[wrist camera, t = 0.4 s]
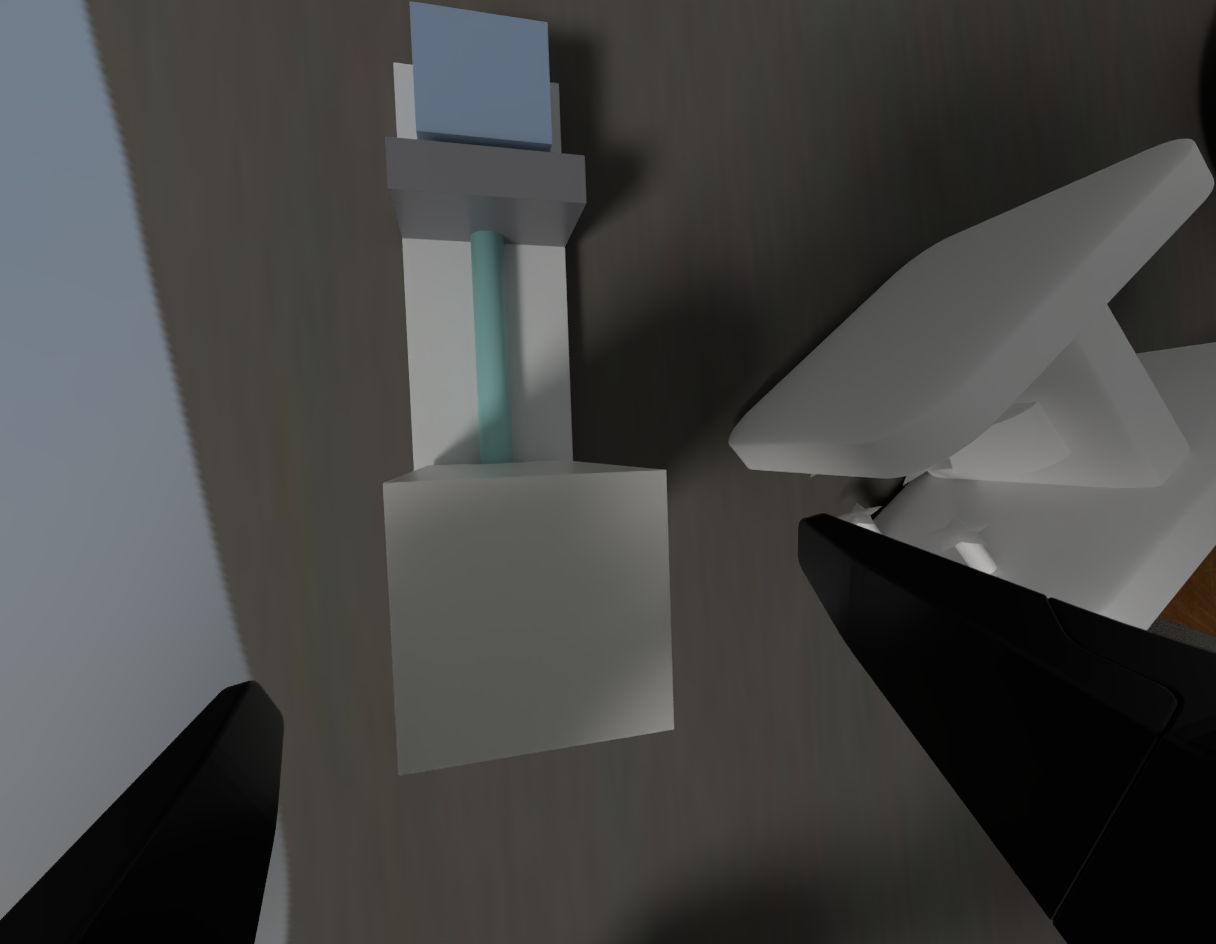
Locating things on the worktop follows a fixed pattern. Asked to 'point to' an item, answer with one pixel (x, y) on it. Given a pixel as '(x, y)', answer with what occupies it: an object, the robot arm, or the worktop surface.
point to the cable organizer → (1023, 399)
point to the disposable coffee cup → (1196, 599)
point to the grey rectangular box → (526, 608)
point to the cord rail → (484, 238)
